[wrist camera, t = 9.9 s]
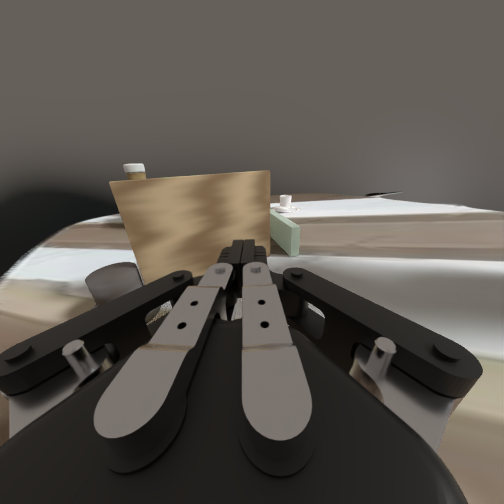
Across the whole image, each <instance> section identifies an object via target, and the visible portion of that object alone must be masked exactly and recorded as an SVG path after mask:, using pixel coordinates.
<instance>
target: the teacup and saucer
mask: <svg viewBox="0 0 504 504" xmlns="http://www.w3.org/2000/svg"><path fill="white" fill-rule="evenodd" d="M290 204H291V195H281V196H280V206H278V207H274V208H272V210H274V211H275V212H283V213H288V212H287V211H288V210H289V208H290V207H291V208H295V209H296V210H294V211H289V212H296V211H299V210H300V208H298V207H294V206H290Z"/></svg>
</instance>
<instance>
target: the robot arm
mask: <svg viewBox="0 0 504 504" xmlns="http://www.w3.org/2000/svg"><path fill="white" fill-rule="evenodd" d="M237 298H242V318H241V319H236V320H234V317H235V313H236V309H237V305H236V302H237ZM169 300H170V302H171V305H172V310H171V311H170V312H169V313H167V314H165V315H164V316H162V317H161V318H159V319H157V320H156V321H154V322H152V323H151V324H149V325H146V322H145V318H146V316H147V314H148V313H149V312H150V311H152V310H154V309H155V308H157V307H159V306H161V305H162V304H164V303H166V302H168V301H169ZM308 302H309V303H310V304H312V305H314V306H315V307H317V308H318V309H320V310H321V311H322V312H323V314H324V316H325V318H323V317H322V316H320V315H319V314H317V313H316V312H314V311H313V310H311V309H310V308H308ZM287 324H288V325H289V326H288V325H287ZM105 344H106V345H105ZM482 373H483V369H482V366H481V364H480V362H479V361H478V360H477V358H476V357H475V356H474V355H473V354H472V353H470V352H469V351H468V350H467V349H465V348H464V347H462V346H461V345H459V344H458V343H456V342H454V341H452V340H450V339H448V338H446V337H444V336H442V335H440V334H437V333H435V332H433V331H431V330H429V329H427V328H425V327H423V326H421V325H419V324H417V323H415V322H413V321H410V320H408V319H406V318H404V317H402V316H400V315H398V314H396V313H394V312H392V311H390V310H388V309H386V308H384V307H381V306H379V305H377V304H375V303H373V302H371V301H369V300H367V299H365V298H363V297H361V296H359V295H357V294H355V293H352V292H350V291H348V290H346V289H344V288H342V287H340V286H338V285H336V284H334V283H332V282H330V281H328V280H325V279H323V278H321V277H319V276H317V275H315V274H313V273H311V272H309V271H307V270H305V269H302V268H289V269H286V270H285V271H284V272H283V275H282V274H277V273H274V272H272V271H270V270H269V268H268V266H267V257H266V248H264V247H263V246H255V239H245V240H233V243H232V246H231V247H225V248H224V249H222V251H221V253H220V256H219V258H218V261H217V263H216V264H214V265H212V266H210V267H209V268H208V269H207V271H206V273H205V274H204V275H202V276H197V277H193V275H192V273H191V272H190V271H188V270H179V271H175V272H172V273H170V274H168V275H166V276H164V277H161V278H159V279H157V280H155V281H153V282H151V283H148V284H146V285H144V286H142V287H140V288H138V289H135V290H133V291H131V292H129V293H127V294H125V295H122V296H120V297H118V298H116V299H114V300H112V301H109V302H107V303H105V304H103V305H101V306H99V307H96V308H94V309H92V310H90V311H88V312H86V313H83V314H81V315H79V316H77V317H75V318H73V319H70V320H68V321H66V322H64V323H62V324H60V325H57V326H55V327H53V328H51V329H49V330H47V331H44V332H42V333H40V334H38V335H36V336H34V337H31V338H29V339H27V340H25V341H23V342H21V343H18V344H16V345H14V346H13V347H11V348H9V349H7V350H6V351H4V352H3V353H1V354H0V390H1V394H2V395H3V396H4V397H5V398H6V399H7V400H8V401H9V440H8V441H6V442H5V443H4V444H3V445H2V446H1V447H0V504H468V502H467V500H466V498H465V496H464V494H463V492H462V490H461V489H460V487H459V485H458V484H457V482H456V480H455V479H454V477H453V475H452V474H451V472H450V471H449V469H448V468H447V467H446V465H445V464H444V462H443V461H442V460H441V458H440V457H439V456H438V455H437V451H438V448H439V445H440V442H441V439H442V436H443V433H444V430H445V427H446V424H447V421H448V418H449V416H450V415H451V414H452V412H453V411H454V410H455V409H456V407H457V406H458V405H459V403H460V402H461V401H462V399H463V398H464V397H465V396H466V394H467V393H468V392H469V390H470V389H471V388H472V387H473V385H474V384H475V383H476V381H477V380H478V379H479V378H480V376H481V375H482Z"/></svg>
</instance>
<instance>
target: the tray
mask: <svg viewBox="0 0 504 504" xmlns="http://www.w3.org/2000/svg"><path fill="white" fill-rule="evenodd" d="M270 237H271V238H272V239H273V240H274V241H275V242H276V243H277V244H278V245H279V246H280V247H281V248H282V249H283V250H284V251H285V252H286V253H287V254H288V255H289V256H290V257H293V256H298V254H299V239H300V226H298V225H297V224H295V223H293V222H292V221H290V220H289V219H287V218H285V217H284V216H282V215H280V214H279V213H277V212H275V211H274V210H272V209H271V208H270Z"/></svg>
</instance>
